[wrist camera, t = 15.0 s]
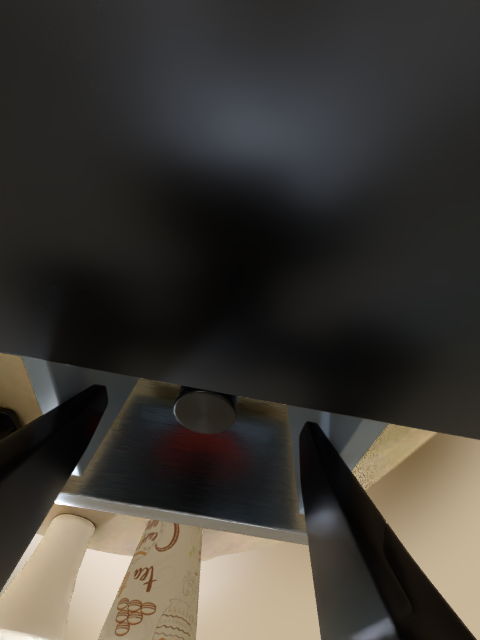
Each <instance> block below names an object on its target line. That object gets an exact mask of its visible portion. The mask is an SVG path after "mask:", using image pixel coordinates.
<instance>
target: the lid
mask: <svg viewBox="0 0 480 640" xmlns="http://www.w3.org/2000/svg"><path fill="white" fill-rule="evenodd" d="M238 398H239V396H236V395H231V394H225V393H220V392H214V391H209V390H203V389H198V388H192V387H187V386H180V389H179V391H178V394H177V397H176V399H175V402H174V405H173V411H174V415H175V417H176V419H177V420H178V421H179V422H180V423H181V424H182V425H183V426H184V427H186V428H188V429H190V430H192V431H195V432H198V433H203V434H216V433H220V432H223V431H226V430H227V429H229V428H230V427H231V426H232V425H233V424H234V422H235V420H236V417H237V408H238Z"/></svg>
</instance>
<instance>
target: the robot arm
mask: <svg viewBox="0 0 480 640" xmlns="http://www.w3.org/2000/svg"><path fill="white" fill-rule="evenodd" d="M107 405H108V394H107V388H106V386H104V385H99V384H94V385H91V386H90V387H88V388H86V389H85V390H83V391H81V392H80V393H78V394H77V395H75V396H73V397H72V398H70V399H68V400H67V401H65V402H63V403H62V404H60V405H58V406H57V407H55V408H53V409H52V410H50V411H48V412H47V413H45V414H44V415H42V416H40V417H39V418H37V419H35V420H34V421H32V422H30V423H29V424H27V425H25V426H24V427H22V428H21V426H20V423H19V421H18V419H17V417H16V414H15V413H14V412H13V411H11V410H7V409H2V408H0V592H1V590H2V589H3V587H4V585H5V584H6V582H7V580H8V579H9V577H10V575H11V573H12V572H13V570H14V569H15V567H16V565H17V564H18V562H19V560H20V559H21V557H22V555H23V554H24V552H25V550H26V549H27V547H28V545H29V544H30V542H31V540H32V539H33V537H34V536H35V534H36V532H37V531H38V529H39V527H40V526H41V524H42V522H43V521H44V519H45V517H46V516H47V514H48V512H49V511H50V509H51V507H52V506H53V504H54V502H55V501H56V499H57V497H58V496H59V494H60V492H61V491H62V489H63V487H64V486H65V484H66V482H67V481H68V479H69V477H70V476H71V474H72V472H73V471H74V469H75V467H76V466H77V464H78V462H79V461H80V459H81V458H82V456H83V454H84V453H85V451H86V449H87V447H88V445H89V443H90V441H91V439H92V437H93V435H94V433H95V431H96V429H97V427H98V425H99V422H100V420H101V418H102V416H103V414H104V412H105V410H106V408H107ZM299 460H300V483H301V492H302V499H303V507H304V514H305V522H306V529H307V537H308V544H309V552H310V559H311V567H312V573H313V581H314V589H315V596H316V604H317V611H318V619H319V626H320V634H321V640H477V639H476V638H475V637H474V636H473V634H472V633H471V632H470V631H469V629H468V628H467V627H466V626H465V624H464V623H463V622H462V621H461V619H460V618H459V617H458V615H457V614H456V613H455V612H454V611H453V609H452V608H451V607H450V605H449V604H448V603H447V602H446V601H445V599H444V598H443V597H442V595H441V594H440V593H439V592H438V590H437V589H436V588H435V587H434V585H433V584H432V583H431V581H430V580H429V579H428V578H427V576H426V575H425V574H424V572H423V571H422V570H421V569H420V567H419V566H418V565H417V563H416V562H415V561H414V559H413V558H412V557H411V556H410V554H409V553H408V552H407V550H406V549H405V547H404V546H403V544H402V543H401V542H400V540H399V539H398V537H397V536H396V535H395V533H394V532H393V530H392V529H391V527H390V526H389V525H388V524H387V523H386V520H385V519H384V518H383V516H382V515H381V513H380V512H379V510H378V509H377V508H376V506H375V505H374V504H373V502H372V500H371V499H370V498H369V496H368V495H367V493H366V492H365V490H364V489H363V488H362V486H361V485H360V483H359V482H358V480H357V479H356V477H355V476H354V475H353V473H352V472H351V470H350V469H349V467H348V466H347V465H346V463H345V462H344V460H343V459H342V457H341V456H340V455H339V453H338V452H337V450H336V449H335V447H334V446H333V445H332V443H331V442H330V440H329V439H328V437H327V436H326V435H325V433H324V432H323V430H322V429H321V427H320V426H319V425H318V424H317V423H316V422H311V421H306V422H305V424H304V426H303V428H302V430H301V432H300V435H299Z"/></svg>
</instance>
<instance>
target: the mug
mask: <svg viewBox="0 0 480 640" xmlns="http://www.w3.org/2000/svg"><path fill="white" fill-rule="evenodd" d="M202 531H203V528H201V527H195V526H189V525H183V524H177V523H171V522H165V521H159V520H153V519H149V522H148V524H147V526H146V529H145V531H144V533H143V536H142V538H141V540H140V542H139V545H138V547H137V549H136V552H135V554H134V556H133V559H132V561H131V563H130V565H129V568H128V570H127V572H126V575H125V577H124V580H123V582H122V584H121V586H120V589H119V591H118V593H117V595H116V598H115V600H114V602H113V605H112V607H111V609H110V612H109V614H108V616H107V619H106V621H105V623H104V626H103V628H102V630H101V633H100V636H99V638H98V640H196V627H197V611H198V594H199V579H200V563H201V547H202Z"/></svg>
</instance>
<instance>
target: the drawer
mask: <svg viewBox="0 0 480 640" xmlns="http://www.w3.org/2000/svg"><path fill="white" fill-rule="evenodd" d="M21 357H22V356H21ZM22 360H23V363H24V365H25V368H26V371H27V374H28V376H29V379H30V382H31V385H32V387H33V390H34V393H35V396H36V399H37V401H38V404H39V407H40V410H41V412H42V415H44V414H45V413H47V412H48V411H50V410H52V409H53V408H55V407H57V406H58V405H60V404H62V403H63V402H65V401H67V400H68V399H70V398H72V397H73V396H75V395H77V394H78V393H80V392H81V391H83V390H85V389H86V388H88V387H90V386H91V385H94V384H99V385H104V386H106V388H107V394H108V405H107V408H106V410H105V412H104V414H103V416H102V418H101V420H100V422H99V425H98V427H97V429H96V431H95V433H94V435H93V437H92V439H91V441H90V443H89V445H88V447H87V449H86V451H85V453H84V454H83V456H82V458H81V459H80V461H79V462H78V464H77V466H76V467H75V469H74V471H73V472H72V474H71V476H70V477H69V479H68V481H67V482H66V484H65V486H64V487H63V489H62V491H61V492H60V494H59V496H58V497H57V499H56V501H55V503H56V504H62V505H68V506H74V507H80V508H86V509H92V510H98V511H104V512H110V513H116V514H122V515H128V516H134V517H141V518H147V519H153V520H159V521H165V522H171V523H177V524H183V525H189V526H195V527H201V528H207V529H213V530H219V531H225V532H231V533H237V534H243V535H249V536H255V537H261V538H267V539H273V540H279V541H285V542H292V543H297V544H303V545H309V544H308V537H307V529H306V522H305V514H304V507H303V499H302V492H301V483H300V460H299V435H300V432H301V430H302V428H303V426H304V424H305V422H306V421H311V422H316V423H317V424H318V425H319V426H320V427H321V429H322V430H323V432H324V433H325V435H326V436H327V437H328V439H329V440H330V442H331V443H332V445H333V446H334V447H335V449H336V450H337V452H338V453H339V455H340V456H341V457H342V459H343V460H344V462H345V463H346V465H347V466H348V467H349V469H350V470H351V471H352V470H353V469H354V467H355V466H356V465H357V463H358V462H359V461H360V460H361V458H362V457H363V456H364V454H365V453H366V452H367V451H368V449H369V448H370V447H371V445H372V444H373V443H374V441H375V440H376V439H377V438H378V436H379V435H380V434H381V432H382V431H383V430H384V429H385V427H386V426H387V425H388V423H384V422H379V421H373V420H368V419H362V418H357V417H351V416H346V415H340V414H335V413H329V412H324V411H318V410H313V409H307V408H302V407H296V406H291V405H283V404H278V403H272V402H267V401H261V400H256V399H250V398H245V397H240V396H239V398H238V408H237V417H236V420H235V422H234V424H233V425H232V426H231V427H230V428H229V429H227V430H226V431H223V432H220V433H216V434H203V433H198V432H195V431H192V430H190V429H188V428H186V427H184V426H183V425H182V424H181V423H180V422H179V421H178V420H177V419H176V417H175V415H174V411H173V405H174V402H175V399H176V397H177V394H178V391H179V389H180V386H179V385H174V384H168V383H163V382H157V381H152V380H146V379H141V378H137V377H132V376H126V375H121V374H115V373H110V372H104V371H99V370H93V369H88V368H82V367H77V366H71V365H66V364H60V363H55V362H50V361H44V360H39V359H33V358H28V357H22Z"/></svg>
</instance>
